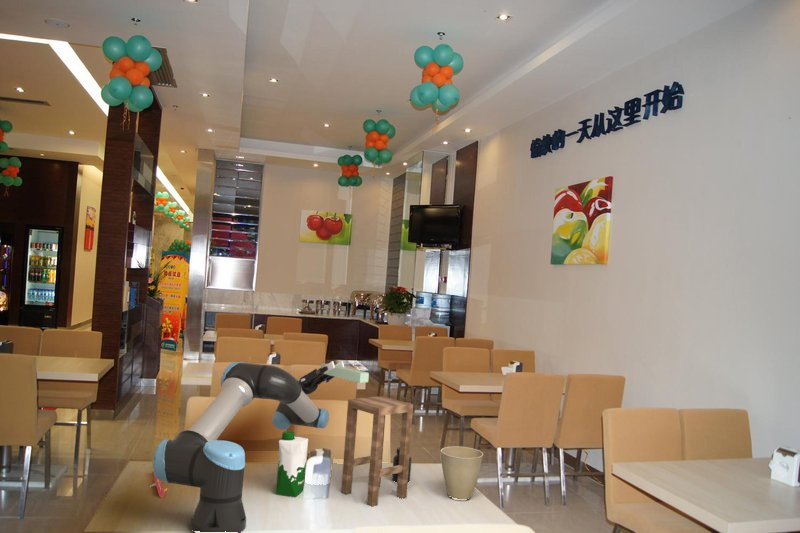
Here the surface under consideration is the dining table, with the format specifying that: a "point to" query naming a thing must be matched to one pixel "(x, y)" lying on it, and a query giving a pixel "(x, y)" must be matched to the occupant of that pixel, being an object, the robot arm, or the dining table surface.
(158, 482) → the red long bar
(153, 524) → the dining table surface
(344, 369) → the green block
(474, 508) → the dining table surface
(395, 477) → the supplement bottle
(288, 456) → the milk carton
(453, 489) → the plant pot
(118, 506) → the dining table surface
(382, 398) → the walnut stool
